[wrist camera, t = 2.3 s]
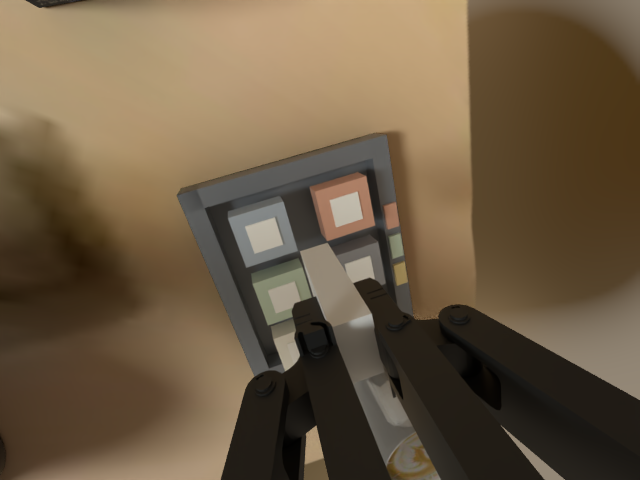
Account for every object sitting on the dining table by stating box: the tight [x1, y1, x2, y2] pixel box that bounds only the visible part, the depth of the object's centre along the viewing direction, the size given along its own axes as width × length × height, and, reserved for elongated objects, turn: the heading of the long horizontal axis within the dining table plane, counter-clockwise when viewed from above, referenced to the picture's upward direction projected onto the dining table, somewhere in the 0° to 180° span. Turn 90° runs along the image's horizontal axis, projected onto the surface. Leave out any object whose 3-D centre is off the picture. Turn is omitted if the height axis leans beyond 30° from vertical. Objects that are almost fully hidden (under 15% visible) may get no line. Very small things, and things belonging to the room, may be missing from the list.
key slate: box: [228, 196, 298, 268], centre depth 27 cm, size 4×4×2 cm
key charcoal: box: [331, 234, 386, 285], centre depth 31 cm, size 4×4×2 cm
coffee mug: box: [353, 365, 441, 480], centre depth 38 cm, size 13×10×10 cm
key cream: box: [271, 319, 300, 371], centre depth 32 cm, size 4×4×2 cm
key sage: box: [251, 258, 312, 325], centre depth 30 cm, size 4×4×2 cm
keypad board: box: [177, 133, 414, 376], centre depth 32 cm, size 18×21×3 cm
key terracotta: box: [310, 172, 375, 241], centre depth 28 cm, size 4×4×2 cm
